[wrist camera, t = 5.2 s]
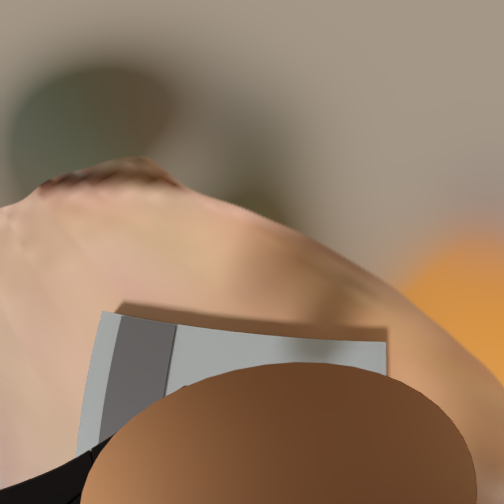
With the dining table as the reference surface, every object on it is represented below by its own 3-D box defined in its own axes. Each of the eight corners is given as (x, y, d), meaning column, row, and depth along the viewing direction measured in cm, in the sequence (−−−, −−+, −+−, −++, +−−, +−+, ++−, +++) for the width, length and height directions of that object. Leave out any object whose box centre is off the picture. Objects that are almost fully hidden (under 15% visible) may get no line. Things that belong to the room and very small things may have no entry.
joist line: (151, 501, 14) (150, 501, 13) (95, 483, 14) (94, 483, 14) (176, 326, 20) (175, 325, 20) (122, 316, 20) (121, 315, 20)
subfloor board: (378, 346, 21) (386, 341, 19) (362, 525, 14) (369, 531, 12) (110, 317, 21) (102, 310, 20) (83, 488, 14) (73, 491, 13)
